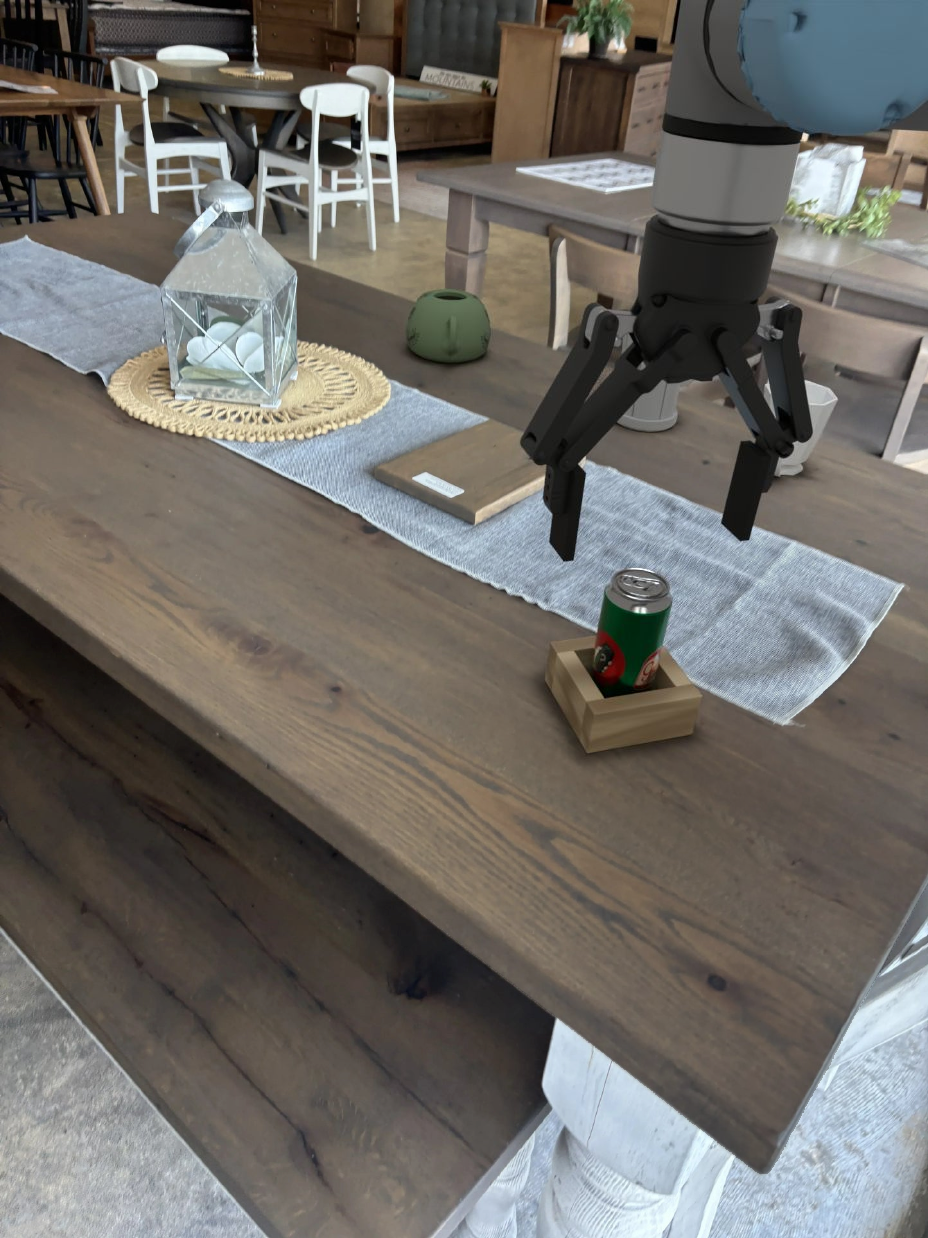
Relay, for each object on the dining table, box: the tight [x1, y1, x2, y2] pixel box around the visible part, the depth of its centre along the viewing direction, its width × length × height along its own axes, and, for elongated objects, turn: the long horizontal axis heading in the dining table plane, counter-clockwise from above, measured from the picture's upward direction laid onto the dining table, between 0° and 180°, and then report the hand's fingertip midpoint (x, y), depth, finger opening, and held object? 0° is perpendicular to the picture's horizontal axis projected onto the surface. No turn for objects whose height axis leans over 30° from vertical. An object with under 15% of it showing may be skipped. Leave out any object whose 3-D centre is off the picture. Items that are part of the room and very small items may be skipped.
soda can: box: [590, 567, 674, 699], centre depth 70 cm, size 5×5×12 cm
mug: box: [405, 288, 492, 364], centre depth 135 cm, size 16×13×9 cm
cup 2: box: [763, 379, 839, 478], centre depth 108 cm, size 8×12×10 cm
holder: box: [544, 635, 703, 754], centre depth 72 cm, size 9×9×4 cm
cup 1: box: [616, 333, 695, 433], centre depth 119 cm, size 10×9×12 cm
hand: (650, 541), depth 64 cm, fingers open, 13 cm apart
